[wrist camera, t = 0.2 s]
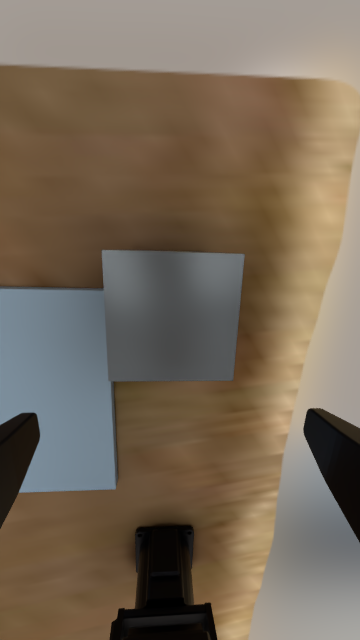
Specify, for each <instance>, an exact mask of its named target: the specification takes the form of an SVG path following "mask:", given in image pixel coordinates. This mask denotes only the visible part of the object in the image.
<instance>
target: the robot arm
mask: <svg viewBox="0 0 360 640" xmlns="http://www.w3.org/2000/svg"><path fill="white" fill-rule="evenodd" d="M304 435H305V438H306V440H307V442H308V444H309V447H310V449H311V451H312V453H313V456H314V458H315V460H316V462H317V464H318V467H319V469H320V471H321V473H322V475H323V477H324V479H325V481H326V483H327V485H328V487H329V489H330V491H331V492H332V494H333V496H334V498H335V500H336V501H337V503H338V505H339V507H340V508H341V510H342V512H343V514H344V515H345V517H346V519H347V521H348V523H349V524H350V526H351V528H352V530H353V531H354V533H355V535H356V537H357V539H358V540H359V542H360V428H358V427H356V426H354V425H352V424H351V423H348V422H347V421H345V420H343V419H341V418H339V417H337V416H335V415H333V414H331V413H329V412H327V411H325V410H323V409H320V408H316V409H315V408H311V409H308V411H307V414H306V419H305V423H304ZM39 440H40V429H39V422H38V417H37V414H36V413H34V412H24V413H20V414H19V415H17V416H15V417H13V418H12V419H10V420H8V421H6V422H4V423H3V424H1V425H0V528H1V526H2V524H3V522H4V520H5V518H6V517H7V515H8V513H9V511H10V509H11V507H12V505H13V503H14V501H15V499H16V497H17V495H18V493H19V491H20V488H21V486H22V484H23V481H24V479H25V476H26V474H27V471H28V468H29V466H30V463H31V461H32V458H33V456H34V453H35V451H36V448H37V446H38V443H39ZM193 539H194V530H193V527H191V526H179V527H157V528H139V529H137V530H136V534H135V544H136V572H137V573H138V577H137V589H136V602H135V609H125V608H119V610H118V616H117V619H116V620H115V621H113V622H112V625H111V633H110V640H217V635H216V630H215V624H214V619H213V614H212V608H211V603H205V604H201V605H194V598H193V586H192V575H191V569H192V557H193Z"/></svg>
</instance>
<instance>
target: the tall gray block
mask: <svg viewBox="0 0 360 640" xmlns="http://www.w3.org/2000/svg"><path fill="white" fill-rule="evenodd" d="M244 255H245V254H234V253H217V252H191V251H156V250H102V266H103V285H104V305H105V325H106V345H107V364H108V381H233V376H234V365H235V354H236V343H237V332H238V321H239V310H240V299H241V288H242V277H243V266H244Z"/></svg>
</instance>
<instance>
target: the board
mask: <svg viewBox="0 0 360 640" xmlns="http://www.w3.org/2000/svg"><path fill="white" fill-rule="evenodd" d="M24 412H34V413H36V414H37V417H38V422H39V429H40V440H39V443H38V446H37V448H36V451H35V453H34V456H33V458H32V461H31V463H30V466H29V468H28V471H27V474H26V476H25V479H24V481H23V484H22V486H21V488H20V491H19V493H20V492H48V491H77V490H106V489H116V485H117V480H118V472H117V450H116V428H115V406H114V383H113V381H108V364H107V345H106V325H105V305H104V288H53V287H0V425H1V424H3V423H4V422H6V421H8V420H10V419H12V418H13V417H15V416H17V415H19V414H20V413H24Z"/></svg>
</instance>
